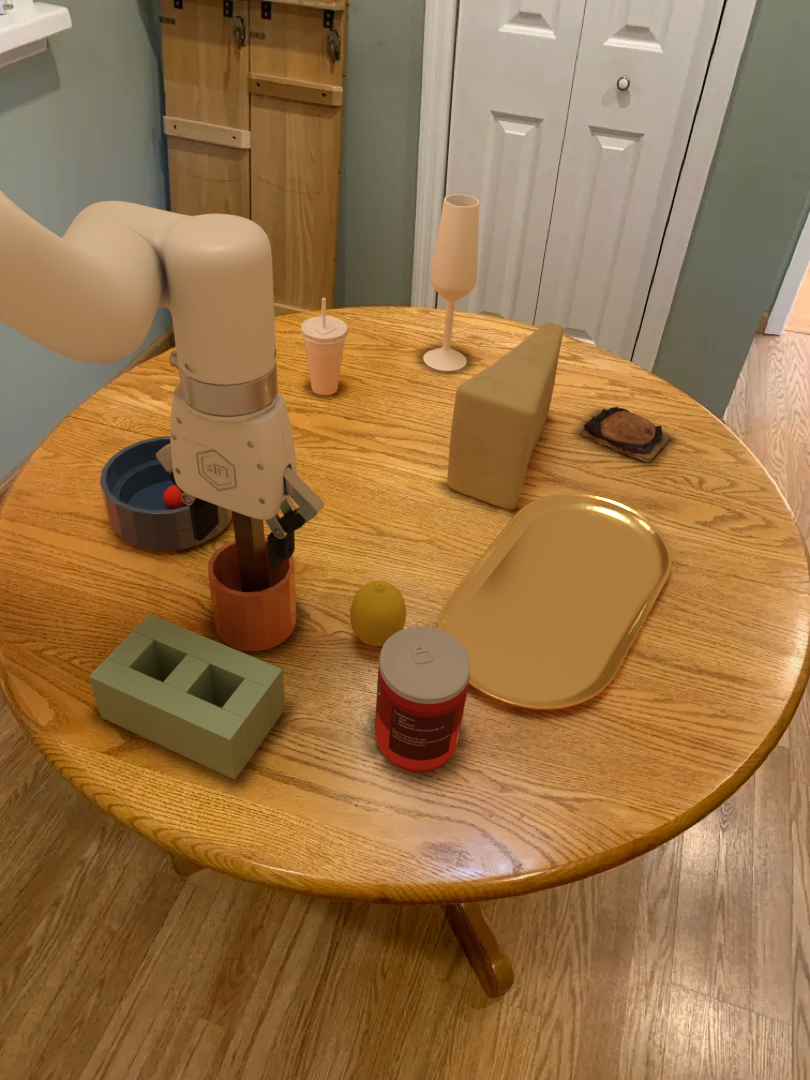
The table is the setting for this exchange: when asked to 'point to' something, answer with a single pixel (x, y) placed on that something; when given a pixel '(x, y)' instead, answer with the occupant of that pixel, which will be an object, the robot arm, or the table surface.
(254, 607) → the crock
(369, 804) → the table surface
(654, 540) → the serving platter
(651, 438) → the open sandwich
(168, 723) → the cinder block
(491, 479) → the cheese
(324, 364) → the smoothie
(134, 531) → the bowl
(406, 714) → the canned food
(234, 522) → the stick
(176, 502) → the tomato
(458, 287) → the champagne flute
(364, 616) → the lemon
